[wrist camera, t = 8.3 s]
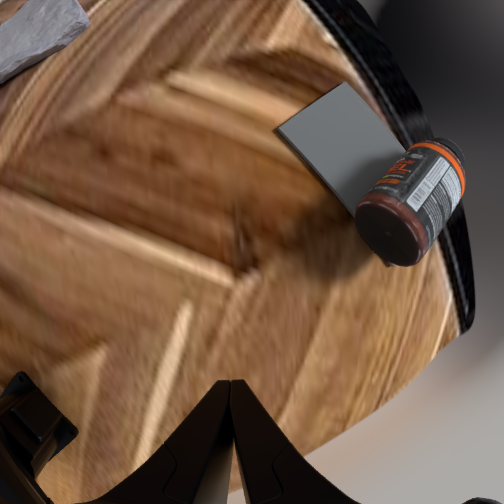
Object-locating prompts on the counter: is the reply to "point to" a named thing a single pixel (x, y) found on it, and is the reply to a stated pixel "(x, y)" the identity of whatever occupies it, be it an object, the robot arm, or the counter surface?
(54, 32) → the stone block
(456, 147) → the supplement bottle
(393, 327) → the counter surface
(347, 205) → the pad
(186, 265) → the counter surface
